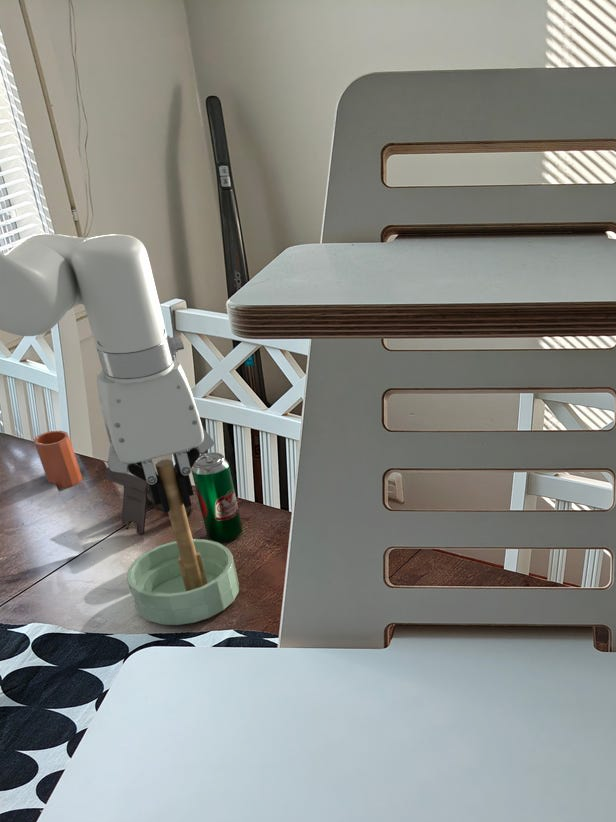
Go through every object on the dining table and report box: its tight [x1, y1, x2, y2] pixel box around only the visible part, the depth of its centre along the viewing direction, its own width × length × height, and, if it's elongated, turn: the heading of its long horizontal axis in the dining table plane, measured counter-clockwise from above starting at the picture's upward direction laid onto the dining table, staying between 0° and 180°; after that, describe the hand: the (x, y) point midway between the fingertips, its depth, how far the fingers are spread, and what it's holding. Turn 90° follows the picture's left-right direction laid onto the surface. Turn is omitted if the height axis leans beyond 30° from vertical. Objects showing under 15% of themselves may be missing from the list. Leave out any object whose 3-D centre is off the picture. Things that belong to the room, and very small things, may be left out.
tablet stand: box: [104, 467, 192, 535], centre depth 142 cm, size 9×8×8 cm
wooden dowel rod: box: [154, 458, 208, 591], centre depth 120 cm, size 3×2×18 cm
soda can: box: [191, 452, 244, 543], centre depth 137 cm, size 5×5×12 cm
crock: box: [33, 430, 83, 490], centre depth 152 cm, size 5×5×8 cm
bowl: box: [126, 538, 240, 626], centre depth 127 cm, size 13×13×5 cm
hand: (174, 503), depth 118 cm, fingers closed on wooden dowel rod, 2 cm apart
